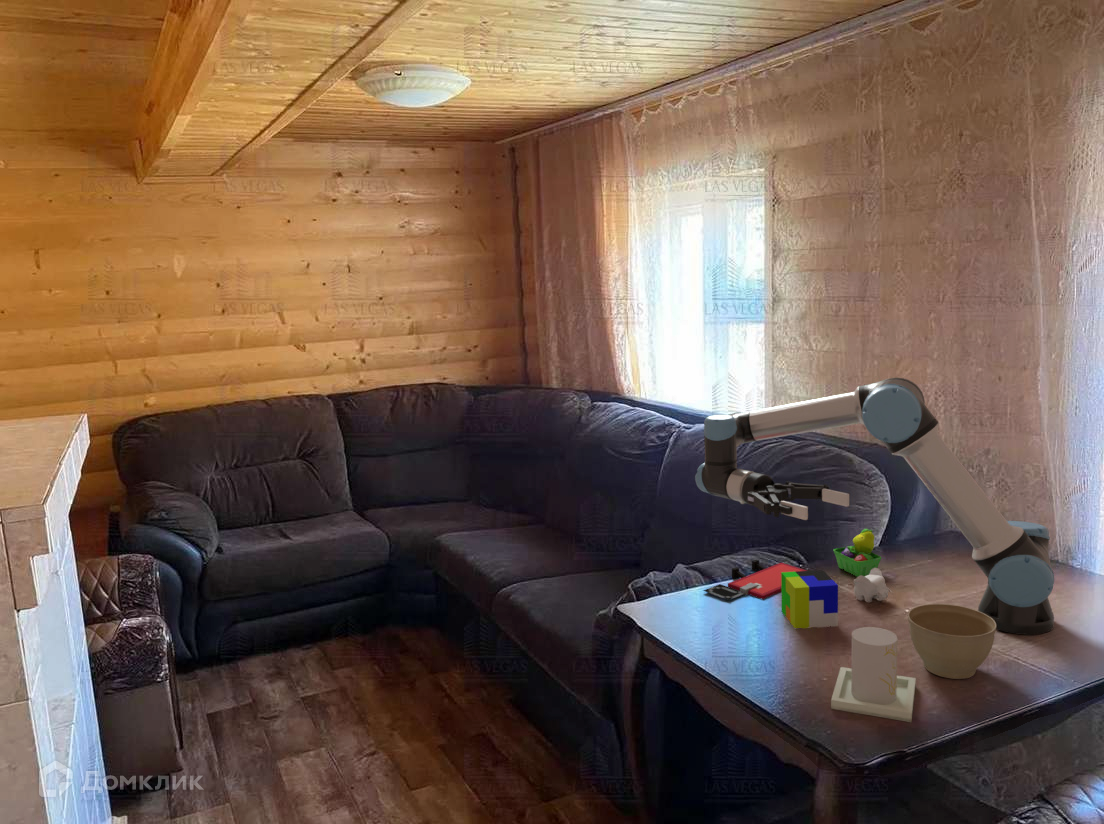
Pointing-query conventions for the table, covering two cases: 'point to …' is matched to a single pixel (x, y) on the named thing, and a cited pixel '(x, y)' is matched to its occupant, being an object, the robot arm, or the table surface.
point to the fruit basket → (858, 555)
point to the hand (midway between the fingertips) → (828, 506)
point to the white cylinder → (874, 665)
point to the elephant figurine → (871, 586)
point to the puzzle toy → (809, 599)
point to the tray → (895, 710)
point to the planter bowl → (951, 638)
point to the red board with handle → (754, 582)
